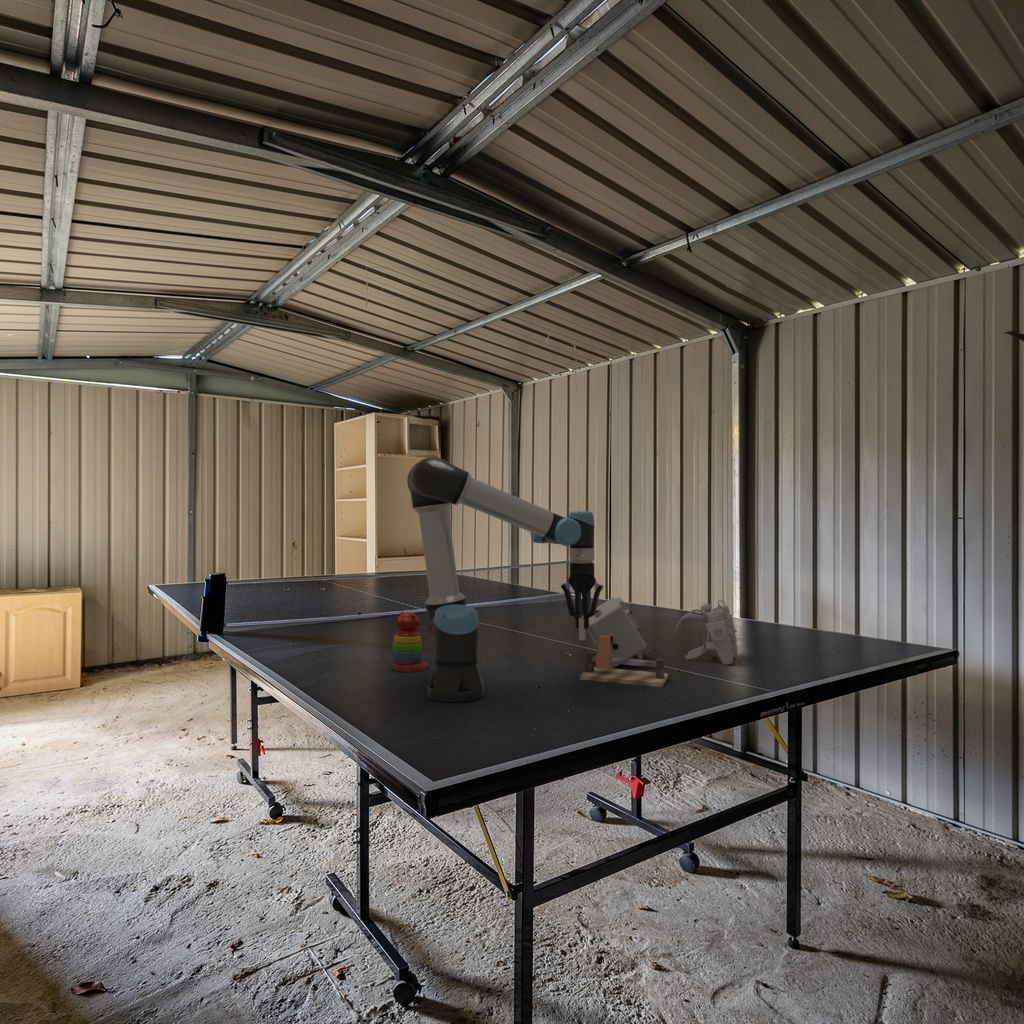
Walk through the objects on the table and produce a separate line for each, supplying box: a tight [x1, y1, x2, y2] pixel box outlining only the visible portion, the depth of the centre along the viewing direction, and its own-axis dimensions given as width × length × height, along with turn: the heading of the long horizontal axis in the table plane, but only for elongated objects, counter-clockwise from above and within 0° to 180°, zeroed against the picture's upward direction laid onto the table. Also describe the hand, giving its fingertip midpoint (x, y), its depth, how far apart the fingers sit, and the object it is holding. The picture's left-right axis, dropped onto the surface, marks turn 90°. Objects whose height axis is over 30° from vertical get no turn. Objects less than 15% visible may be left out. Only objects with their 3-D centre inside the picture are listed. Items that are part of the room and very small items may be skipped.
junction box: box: [581, 596, 647, 669], centre depth 216 cm, size 24×15×22 cm
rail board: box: [579, 652, 669, 688], centre depth 195 cm, size 24×12×6 cm, turn 70°
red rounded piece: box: [391, 611, 430, 673], centre depth 207 cm, size 11×10×18 cm
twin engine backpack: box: [674, 599, 738, 666], centre depth 221 cm, size 18×19×20 cm
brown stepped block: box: [595, 635, 612, 669], centre depth 197 cm, size 4×4×9 cm
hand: (582, 639), depth 199 cm, fingers closed
